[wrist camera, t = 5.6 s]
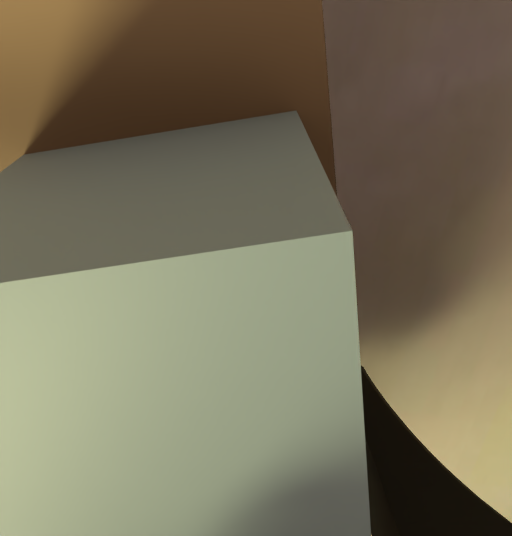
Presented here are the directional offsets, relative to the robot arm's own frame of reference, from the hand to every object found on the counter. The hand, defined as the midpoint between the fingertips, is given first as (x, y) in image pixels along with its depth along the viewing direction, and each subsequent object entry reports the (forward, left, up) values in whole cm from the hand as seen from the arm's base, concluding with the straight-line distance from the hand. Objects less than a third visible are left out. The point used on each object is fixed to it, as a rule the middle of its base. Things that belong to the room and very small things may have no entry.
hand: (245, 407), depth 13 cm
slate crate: (+6, 0, +2) cm, 6 cm away
